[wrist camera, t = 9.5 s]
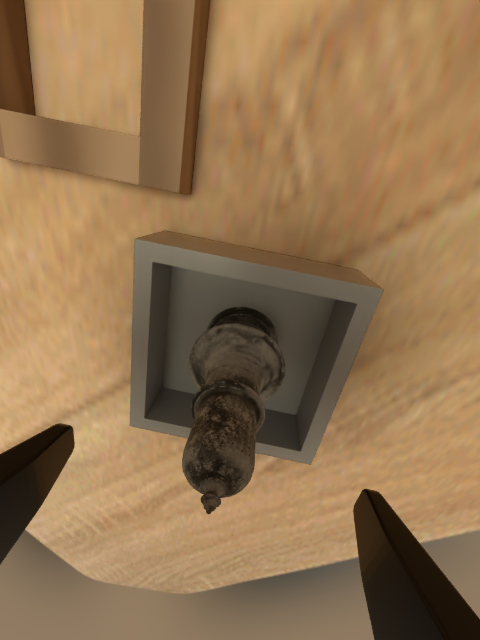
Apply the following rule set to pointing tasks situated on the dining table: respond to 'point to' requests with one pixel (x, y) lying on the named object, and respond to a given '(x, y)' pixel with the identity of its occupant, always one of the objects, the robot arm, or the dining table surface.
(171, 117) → the socket block
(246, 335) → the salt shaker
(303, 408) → the bin
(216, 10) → the dining table surface
